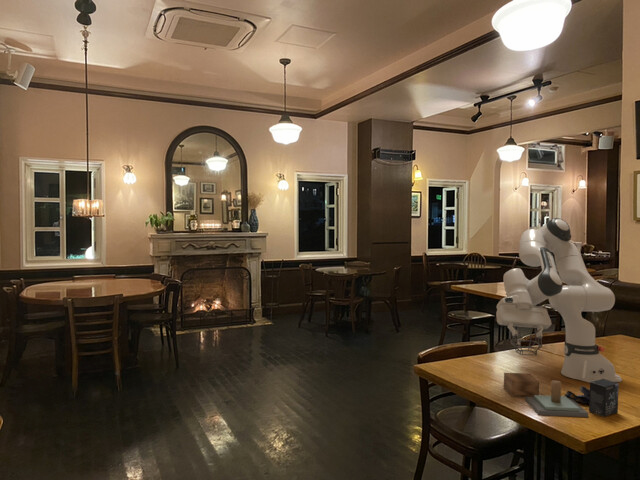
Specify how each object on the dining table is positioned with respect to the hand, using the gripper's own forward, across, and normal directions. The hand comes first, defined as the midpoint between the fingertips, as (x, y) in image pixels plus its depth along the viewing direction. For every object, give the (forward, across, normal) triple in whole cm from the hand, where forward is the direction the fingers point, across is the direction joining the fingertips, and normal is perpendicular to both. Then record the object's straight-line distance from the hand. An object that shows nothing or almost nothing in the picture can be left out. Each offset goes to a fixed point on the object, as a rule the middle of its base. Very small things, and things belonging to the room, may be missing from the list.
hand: (527, 336), depth 175 cm
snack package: (+21, -20, -8) cm, 30 cm away
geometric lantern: (-21, -27, -58) cm, 67 cm away
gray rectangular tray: (+26, -6, -4) cm, 27 cm away
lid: (+24, -6, -3) cm, 25 cm away
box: (+27, -21, 0) cm, 34 cm away
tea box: (+16, -1, -16) cm, 23 cm away
